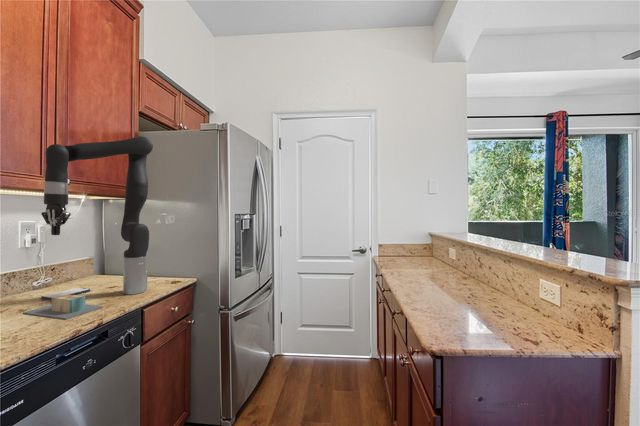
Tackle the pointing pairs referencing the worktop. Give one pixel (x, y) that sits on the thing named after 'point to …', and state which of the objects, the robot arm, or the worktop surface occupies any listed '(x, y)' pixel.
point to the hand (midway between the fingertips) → (55, 234)
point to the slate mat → (48, 312)
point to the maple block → (68, 303)
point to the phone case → (70, 292)
